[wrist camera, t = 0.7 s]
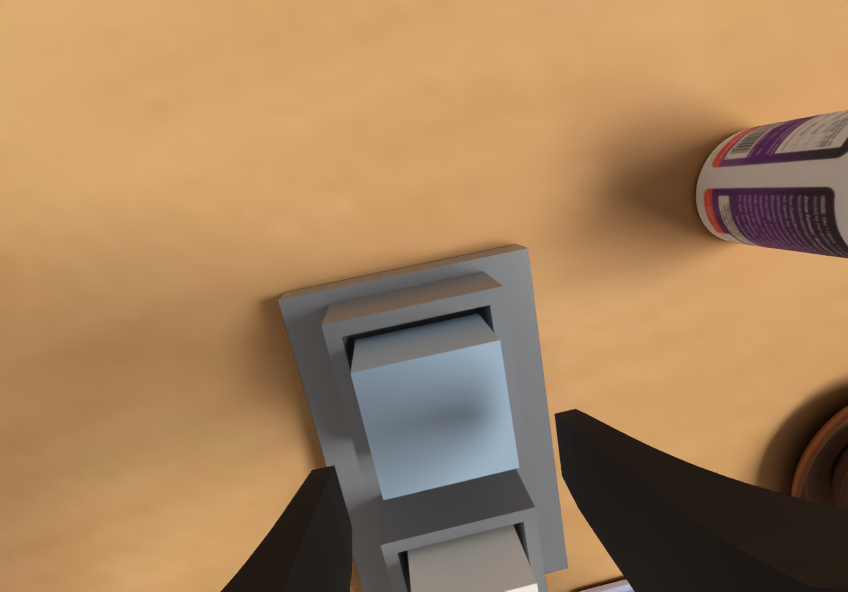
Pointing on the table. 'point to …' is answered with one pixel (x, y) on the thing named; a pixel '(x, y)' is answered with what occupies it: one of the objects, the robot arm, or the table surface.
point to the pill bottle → (780, 186)
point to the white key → (473, 564)
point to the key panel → (345, 433)
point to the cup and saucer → (825, 465)
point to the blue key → (434, 405)
